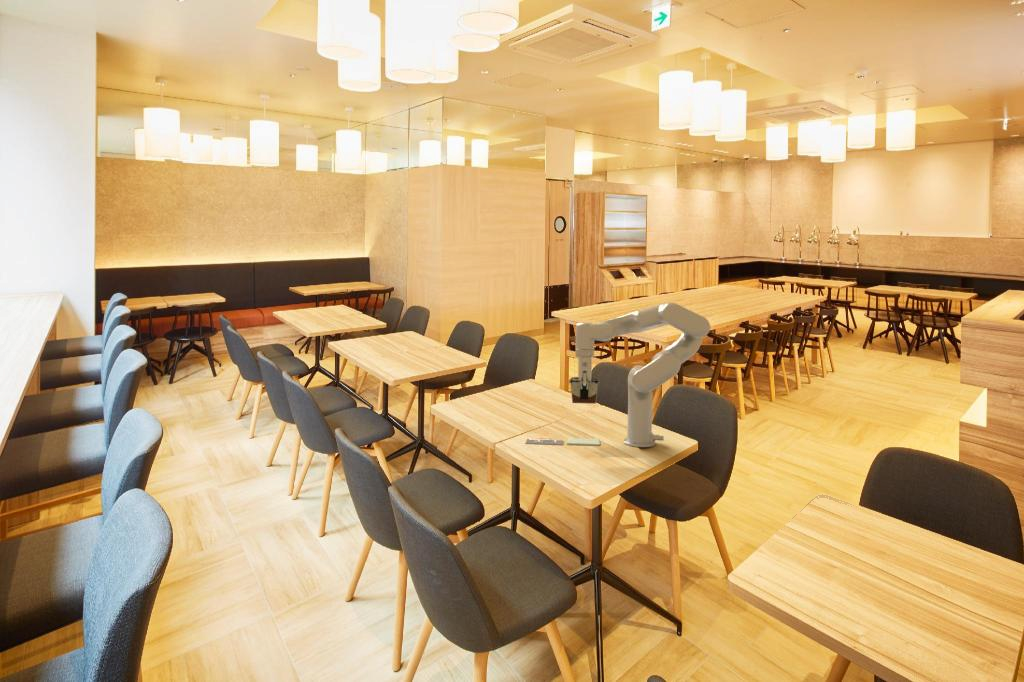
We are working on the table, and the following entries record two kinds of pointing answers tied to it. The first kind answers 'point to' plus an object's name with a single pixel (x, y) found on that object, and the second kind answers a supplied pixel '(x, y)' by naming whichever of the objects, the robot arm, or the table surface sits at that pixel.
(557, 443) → the tile
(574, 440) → the pad
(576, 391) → the food container
